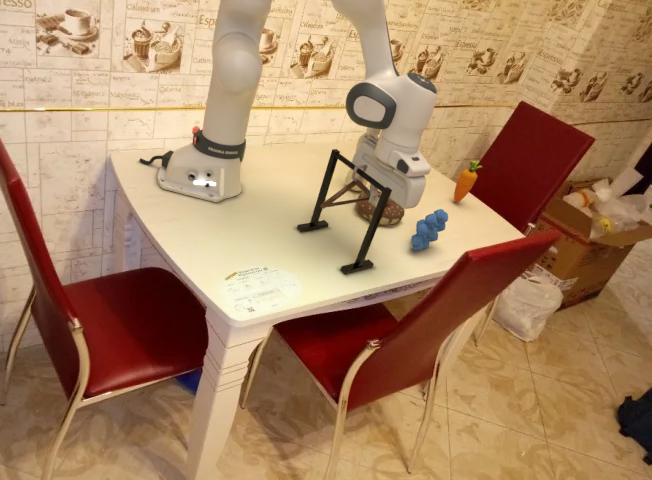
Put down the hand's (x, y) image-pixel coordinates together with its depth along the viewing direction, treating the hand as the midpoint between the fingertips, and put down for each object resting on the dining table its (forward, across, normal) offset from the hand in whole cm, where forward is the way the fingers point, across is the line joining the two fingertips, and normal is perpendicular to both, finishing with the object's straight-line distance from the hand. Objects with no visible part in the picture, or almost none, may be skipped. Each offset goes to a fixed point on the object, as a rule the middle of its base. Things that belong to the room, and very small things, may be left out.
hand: (374, 204), depth 124 cm
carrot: (+13, -10, +53) cm, 55 cm away
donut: (+13, -12, +18) cm, 25 cm away
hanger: (0, -2, -6) cm, 7 cm away
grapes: (+13, +5, +18) cm, 23 cm away
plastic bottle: (+13, -26, +21) cm, 36 cm away
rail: (+13, -2, -6) cm, 15 cm away
